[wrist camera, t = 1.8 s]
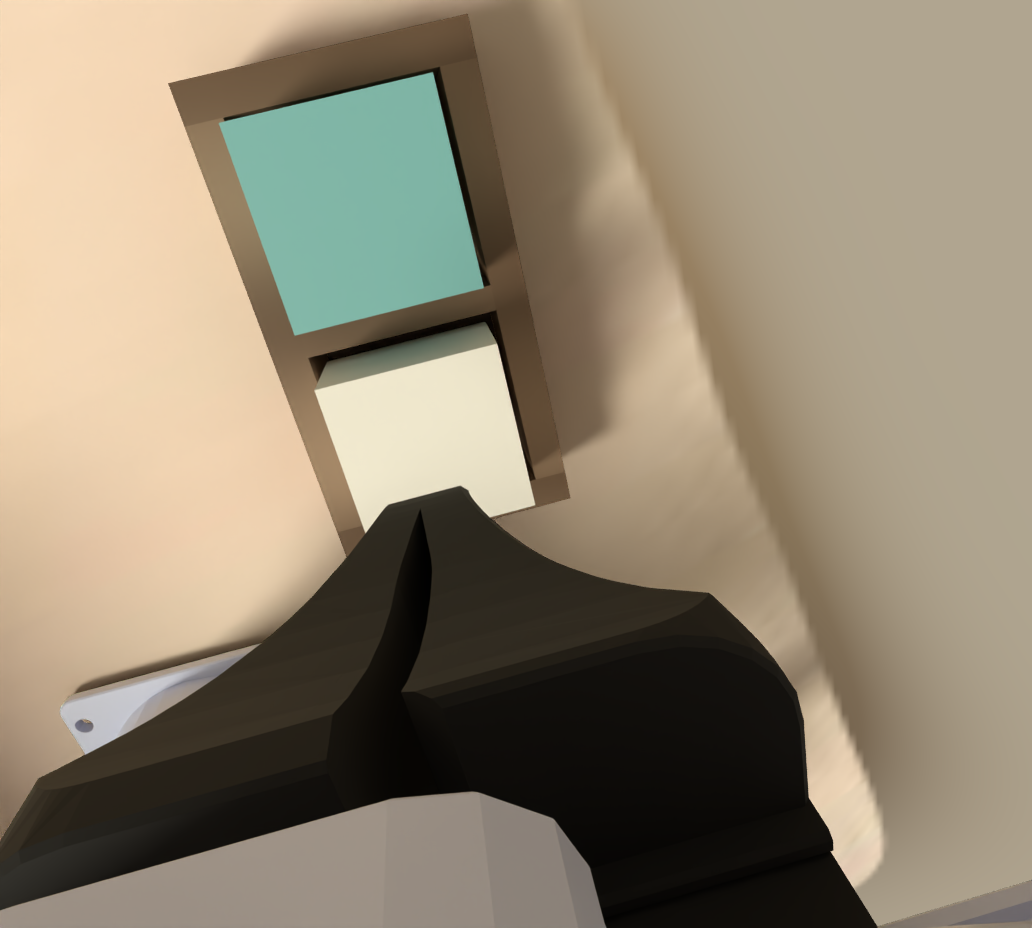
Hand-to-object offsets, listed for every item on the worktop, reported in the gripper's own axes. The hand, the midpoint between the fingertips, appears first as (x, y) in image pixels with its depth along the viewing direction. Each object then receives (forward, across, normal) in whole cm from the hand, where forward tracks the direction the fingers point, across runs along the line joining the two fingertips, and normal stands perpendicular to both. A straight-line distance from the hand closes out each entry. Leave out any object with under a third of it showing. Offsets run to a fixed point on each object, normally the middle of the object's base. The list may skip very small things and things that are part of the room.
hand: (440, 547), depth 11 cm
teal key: (+7, 0, -5) cm, 9 cm away
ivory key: (+7, 0, 0) cm, 7 cm away
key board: (+9, 0, -3) cm, 9 cm away
